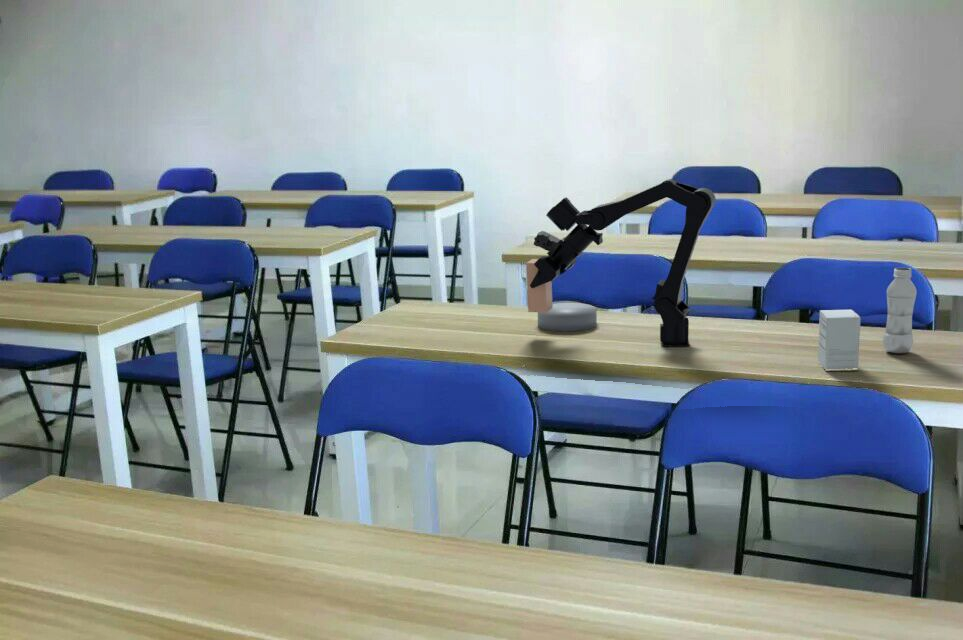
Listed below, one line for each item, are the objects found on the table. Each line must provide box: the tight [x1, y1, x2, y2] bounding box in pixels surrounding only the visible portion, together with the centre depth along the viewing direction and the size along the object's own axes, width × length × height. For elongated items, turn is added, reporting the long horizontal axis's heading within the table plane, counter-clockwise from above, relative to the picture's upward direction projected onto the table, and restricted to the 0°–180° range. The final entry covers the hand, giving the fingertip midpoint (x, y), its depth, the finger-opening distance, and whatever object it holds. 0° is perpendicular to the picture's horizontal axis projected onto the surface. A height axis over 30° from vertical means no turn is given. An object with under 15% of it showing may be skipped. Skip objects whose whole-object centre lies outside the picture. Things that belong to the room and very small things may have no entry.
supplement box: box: [817, 309, 862, 369], centre depth 225 cm, size 7×7×13 cm
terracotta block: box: [525, 258, 553, 313], centre depth 260 cm, size 5×5×13 cm
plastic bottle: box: [882, 267, 918, 354], centre depth 233 cm, size 6×7×20 cm
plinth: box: [537, 302, 598, 332], centre depth 273 cm, size 16×16×4 cm
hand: (534, 284), depth 260 cm, fingers closed on terracotta block, 5 cm apart
